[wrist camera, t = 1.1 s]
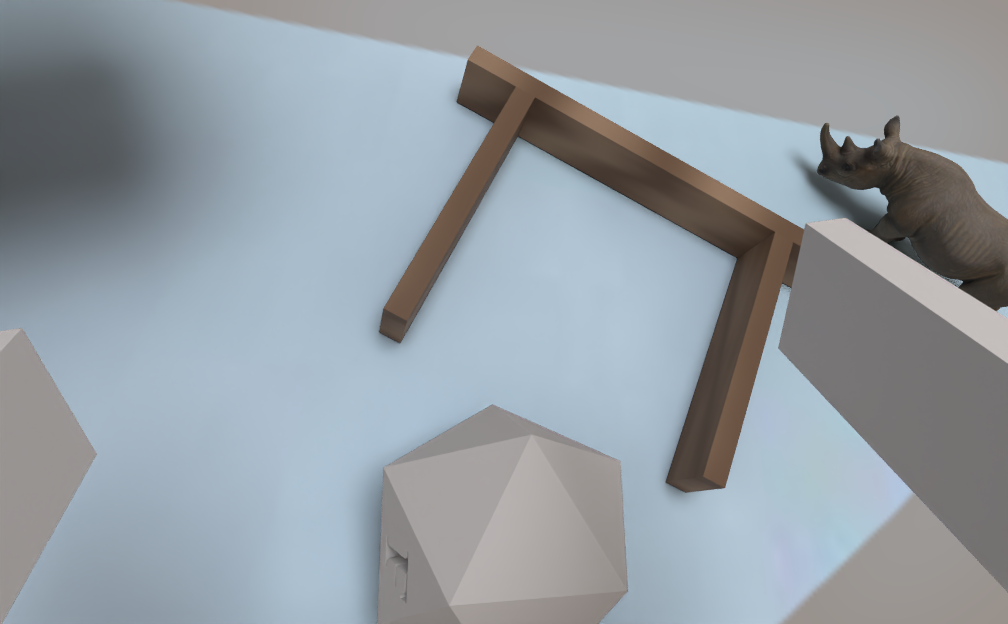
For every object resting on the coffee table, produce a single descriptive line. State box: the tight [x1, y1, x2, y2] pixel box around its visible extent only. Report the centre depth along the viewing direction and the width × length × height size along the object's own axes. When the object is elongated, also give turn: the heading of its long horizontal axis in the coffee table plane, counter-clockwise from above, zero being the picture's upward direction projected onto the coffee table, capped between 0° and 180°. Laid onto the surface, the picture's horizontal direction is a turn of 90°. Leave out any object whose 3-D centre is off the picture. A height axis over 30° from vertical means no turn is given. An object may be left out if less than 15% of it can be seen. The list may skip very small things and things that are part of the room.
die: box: [377, 404, 628, 624], centre depth 20 cm, size 8×9×10 cm
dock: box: [379, 46, 804, 493], centre depth 27 cm, size 20×14×3 cm
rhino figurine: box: [817, 116, 1008, 311], centre depth 32 cm, size 4×14×6 cm, turn 44°
